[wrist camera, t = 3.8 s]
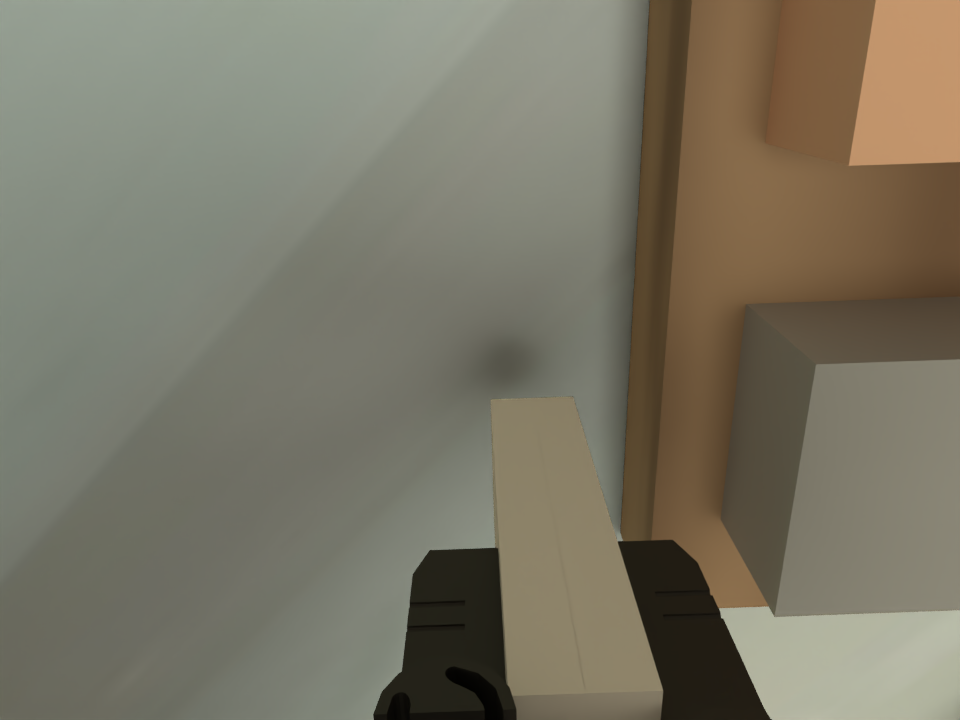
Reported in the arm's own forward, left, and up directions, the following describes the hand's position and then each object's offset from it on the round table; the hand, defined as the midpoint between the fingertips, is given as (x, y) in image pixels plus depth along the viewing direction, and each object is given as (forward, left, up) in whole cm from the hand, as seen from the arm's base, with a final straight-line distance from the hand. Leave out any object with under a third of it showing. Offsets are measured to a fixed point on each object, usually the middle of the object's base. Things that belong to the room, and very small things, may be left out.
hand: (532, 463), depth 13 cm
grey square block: (+7, 0, -2) cm, 7 cm away
